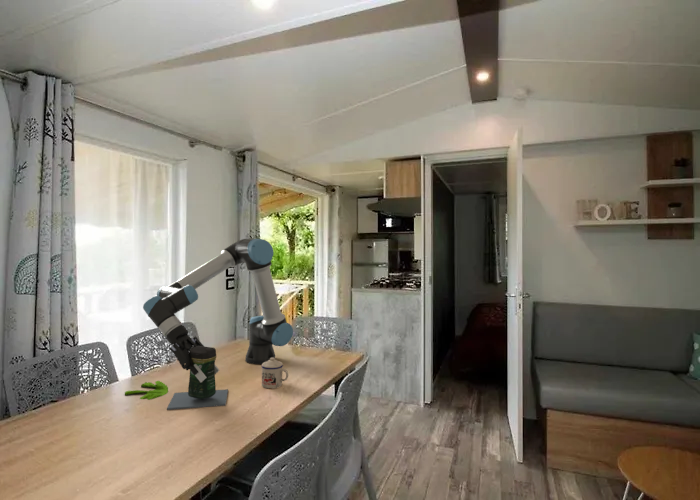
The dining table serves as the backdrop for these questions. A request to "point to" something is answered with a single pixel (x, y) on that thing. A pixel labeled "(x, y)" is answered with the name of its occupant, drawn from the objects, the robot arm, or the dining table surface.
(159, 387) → the cloth
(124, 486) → the dining table surface
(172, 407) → the mat
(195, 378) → the coffee jar
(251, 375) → the dining table surface
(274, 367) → the teacup with lid
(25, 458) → the dining table surface
